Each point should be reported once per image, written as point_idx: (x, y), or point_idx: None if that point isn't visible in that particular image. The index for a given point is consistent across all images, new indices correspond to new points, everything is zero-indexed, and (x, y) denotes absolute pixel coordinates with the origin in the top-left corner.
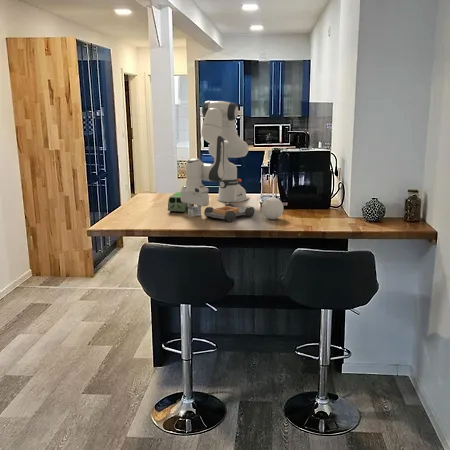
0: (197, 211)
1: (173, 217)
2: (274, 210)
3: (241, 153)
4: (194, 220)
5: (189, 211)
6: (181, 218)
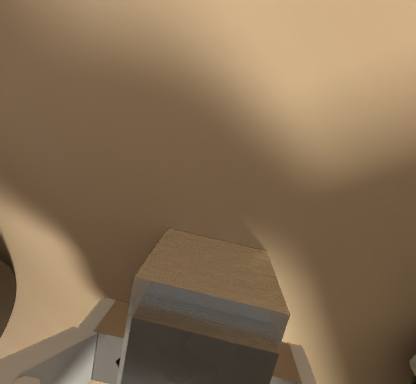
0: (101, 307)
1: (404, 55)
2: None
3: None
4: (26, 62)
5: (241, 277)
6: (252, 66)
